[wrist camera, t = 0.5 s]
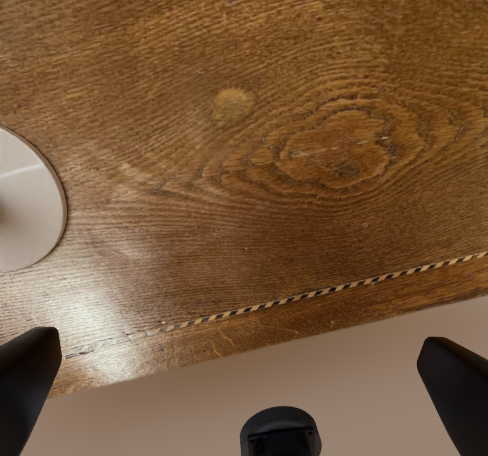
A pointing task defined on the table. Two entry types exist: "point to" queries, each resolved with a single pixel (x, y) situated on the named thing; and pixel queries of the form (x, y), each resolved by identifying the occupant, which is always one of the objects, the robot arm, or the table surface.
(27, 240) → the pole on white disc
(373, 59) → the table surface
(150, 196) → the table surface
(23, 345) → the robot arm
